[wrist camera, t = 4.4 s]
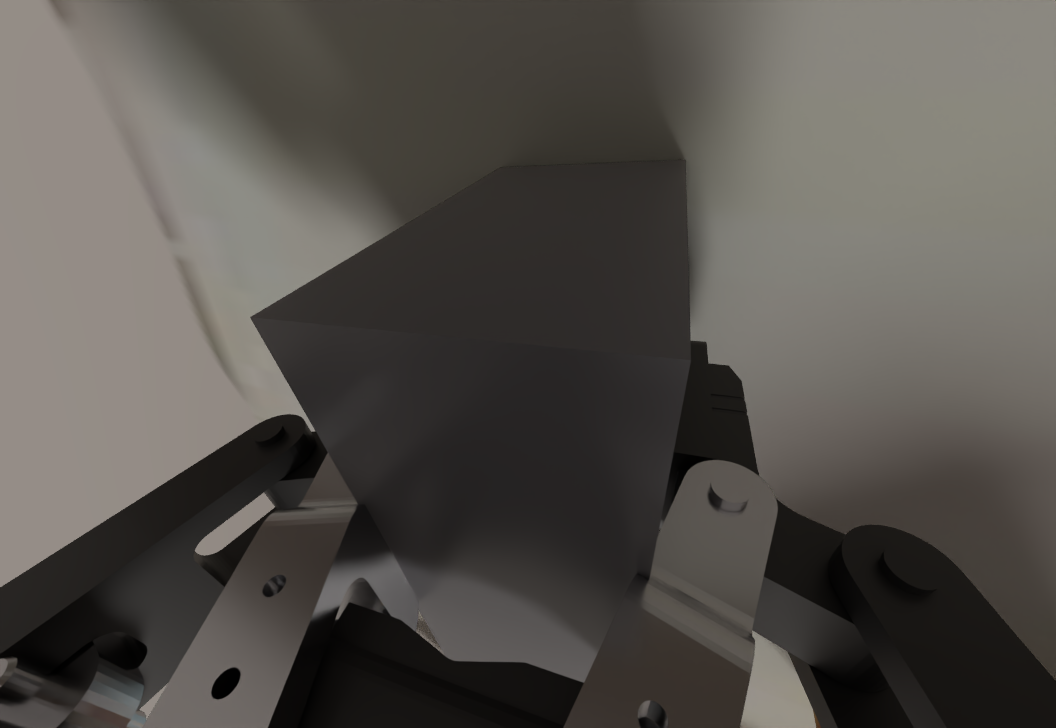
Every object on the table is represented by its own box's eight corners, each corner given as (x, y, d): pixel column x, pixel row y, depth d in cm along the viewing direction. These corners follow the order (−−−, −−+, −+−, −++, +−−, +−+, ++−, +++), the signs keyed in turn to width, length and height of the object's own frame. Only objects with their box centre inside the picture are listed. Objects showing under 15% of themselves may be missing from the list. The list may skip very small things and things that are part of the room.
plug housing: (685, 159, 8) (690, 359, 3) (646, 456, 13) (622, 721, 8) (500, 167, 9) (250, 316, 4) (532, 437, 14) (445, 657, 9)
